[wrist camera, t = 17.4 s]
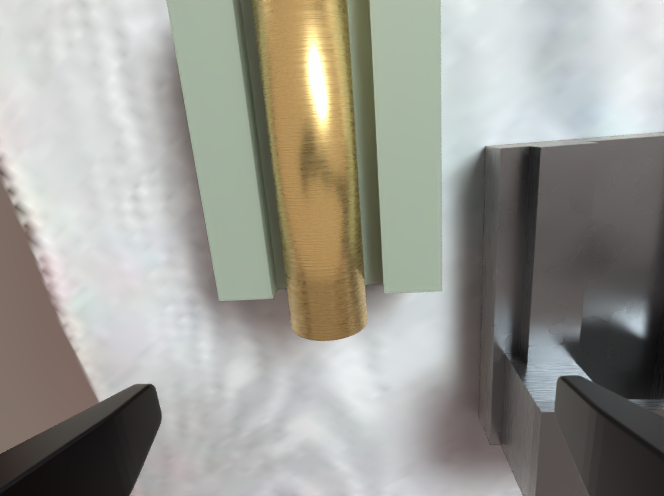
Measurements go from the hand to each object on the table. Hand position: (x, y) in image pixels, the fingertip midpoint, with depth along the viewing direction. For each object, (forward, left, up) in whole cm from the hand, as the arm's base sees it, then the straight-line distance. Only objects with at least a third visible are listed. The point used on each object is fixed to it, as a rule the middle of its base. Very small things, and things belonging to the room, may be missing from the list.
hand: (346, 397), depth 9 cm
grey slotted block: (-11, +2, -11) cm, 16 cm away
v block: (+1, -6, -11) cm, 12 cm away
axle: (+1, -6, -7) cm, 9 cm away
